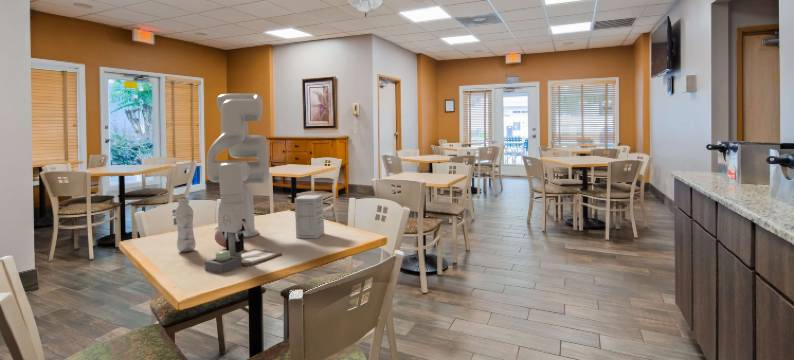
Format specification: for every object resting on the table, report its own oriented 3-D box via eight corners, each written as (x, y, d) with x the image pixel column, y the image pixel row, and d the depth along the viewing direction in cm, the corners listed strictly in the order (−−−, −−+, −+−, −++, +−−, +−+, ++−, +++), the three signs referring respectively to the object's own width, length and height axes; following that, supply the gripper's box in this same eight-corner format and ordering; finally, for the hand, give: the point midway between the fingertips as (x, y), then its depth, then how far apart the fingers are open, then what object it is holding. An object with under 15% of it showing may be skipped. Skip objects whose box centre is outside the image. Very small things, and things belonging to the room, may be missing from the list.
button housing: (205, 270, 148) (204, 261, 148) (225, 263, 155) (224, 254, 155) (221, 273, 144) (221, 264, 144) (241, 266, 151) (241, 258, 151)
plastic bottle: (177, 254, 167) (173, 200, 165) (177, 250, 173) (173, 198, 171) (196, 252, 170) (193, 199, 168) (195, 248, 176) (192, 196, 174)
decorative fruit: (243, 245, 180) (241, 220, 178) (239, 250, 171) (238, 224, 170) (217, 246, 178) (216, 221, 177) (213, 252, 170) (211, 225, 169)
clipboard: (218, 261, 158) (218, 258, 158) (254, 250, 171) (253, 247, 171) (247, 267, 151) (247, 264, 151) (281, 255, 165) (281, 252, 164)
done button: (213, 260, 149) (212, 252, 148) (224, 257, 152) (223, 249, 152) (222, 262, 146) (221, 254, 146) (233, 258, 150) (232, 251, 150)
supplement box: (324, 233, 197) (323, 194, 195) (317, 238, 188) (316, 198, 186) (303, 232, 199) (302, 194, 196) (295, 238, 189) (293, 198, 187)
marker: (226, 259, 158) (224, 225, 156) (236, 256, 161) (234, 222, 160) (234, 260, 156) (232, 226, 154) (244, 257, 159) (242, 223, 158)
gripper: (206, 198, 157) (210, 250, 159) (240, 202, 149) (243, 256, 151) (224, 195, 164) (227, 245, 166) (258, 198, 155) (260, 251, 157)
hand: (235, 250), depth 158 cm, fingers closed on marker, 4 cm apart
